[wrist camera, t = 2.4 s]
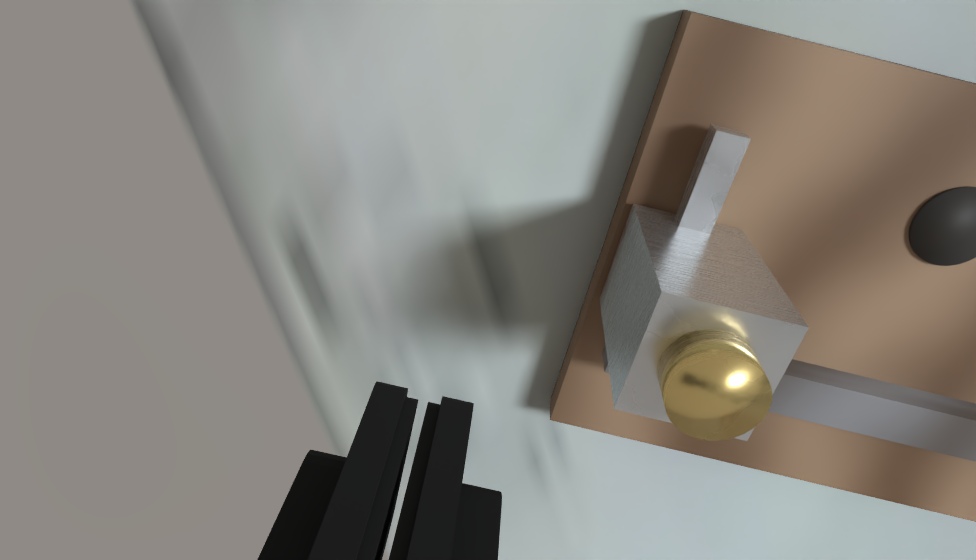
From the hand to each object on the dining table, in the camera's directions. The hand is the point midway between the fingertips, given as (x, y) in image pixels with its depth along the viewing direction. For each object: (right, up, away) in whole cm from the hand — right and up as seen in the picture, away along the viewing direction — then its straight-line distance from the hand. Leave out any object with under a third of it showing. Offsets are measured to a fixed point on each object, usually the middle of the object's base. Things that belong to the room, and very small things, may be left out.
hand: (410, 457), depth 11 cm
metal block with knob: (+8, +5, +10) cm, 13 cm away
